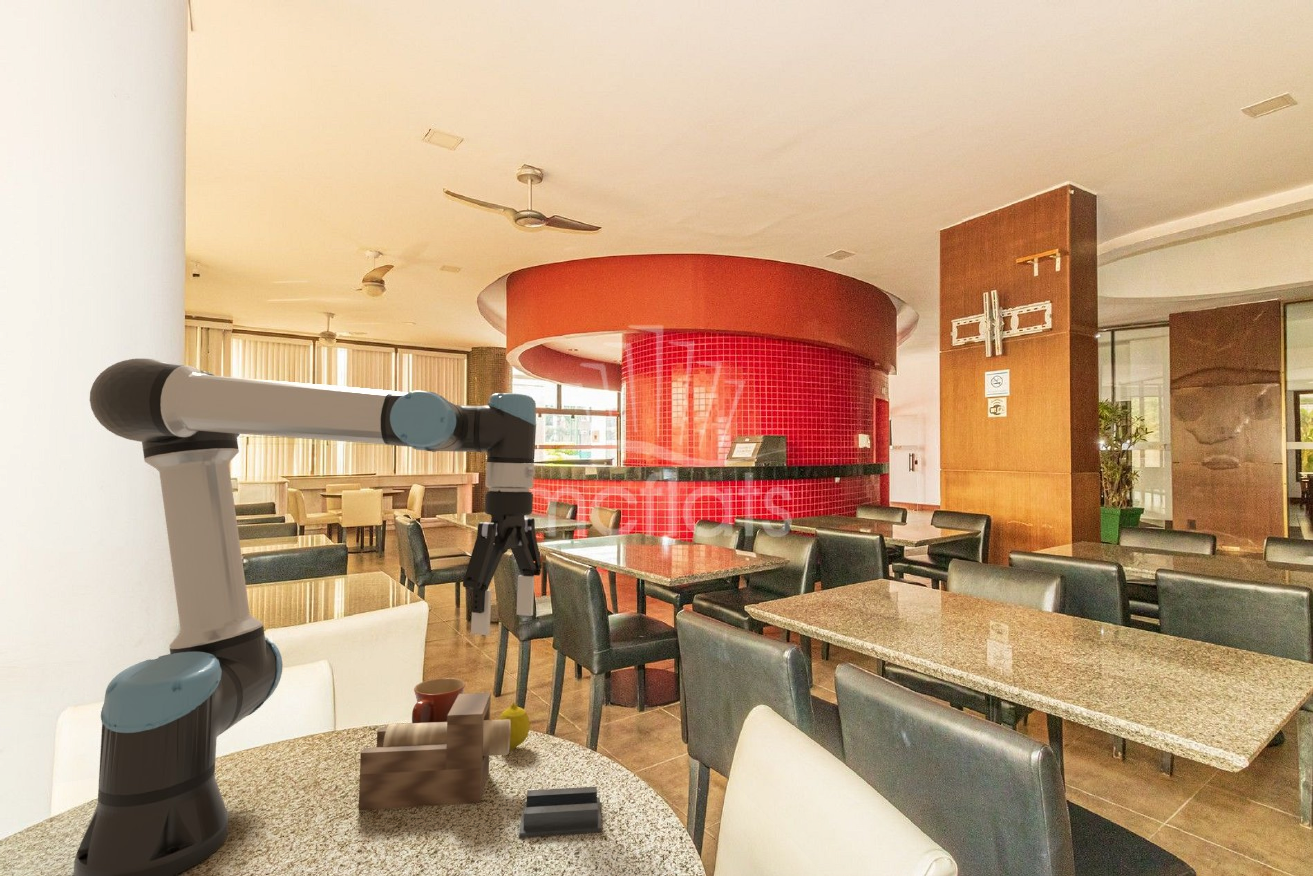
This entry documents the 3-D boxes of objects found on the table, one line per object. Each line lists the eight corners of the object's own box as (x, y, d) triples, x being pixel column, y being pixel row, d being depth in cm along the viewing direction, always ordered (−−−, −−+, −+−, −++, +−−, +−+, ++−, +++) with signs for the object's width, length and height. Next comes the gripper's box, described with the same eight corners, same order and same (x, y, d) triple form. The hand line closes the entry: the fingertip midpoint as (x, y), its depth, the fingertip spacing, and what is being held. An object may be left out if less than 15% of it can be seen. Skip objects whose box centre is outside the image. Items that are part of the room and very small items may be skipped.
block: (358, 810, 88) (361, 719, 89) (378, 779, 97) (381, 696, 98) (480, 803, 90) (482, 714, 91) (488, 773, 99) (490, 692, 100)
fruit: (519, 758, 104) (520, 710, 105) (490, 754, 106) (491, 706, 106) (534, 745, 110) (535, 699, 110) (507, 740, 111) (508, 695, 112)
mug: (430, 732, 115) (431, 676, 115) (472, 736, 113) (474, 679, 114) (390, 761, 103) (392, 698, 104) (437, 766, 101) (439, 703, 102)
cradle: (518, 838, 82) (519, 817, 82) (524, 806, 89) (524, 787, 90) (601, 832, 83) (601, 812, 83) (599, 801, 91) (599, 783, 91)
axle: (382, 767, 91) (383, 732, 91) (392, 751, 96) (393, 719, 96) (506, 760, 93) (507, 727, 93) (510, 746, 98) (510, 714, 98)
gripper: (488, 492, 86) (481, 646, 84) (563, 489, 110) (559, 610, 108) (441, 490, 88) (434, 641, 86) (525, 488, 112) (521, 606, 110)
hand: (503, 624), depth 97 cm, fingers open, 13 cm apart
